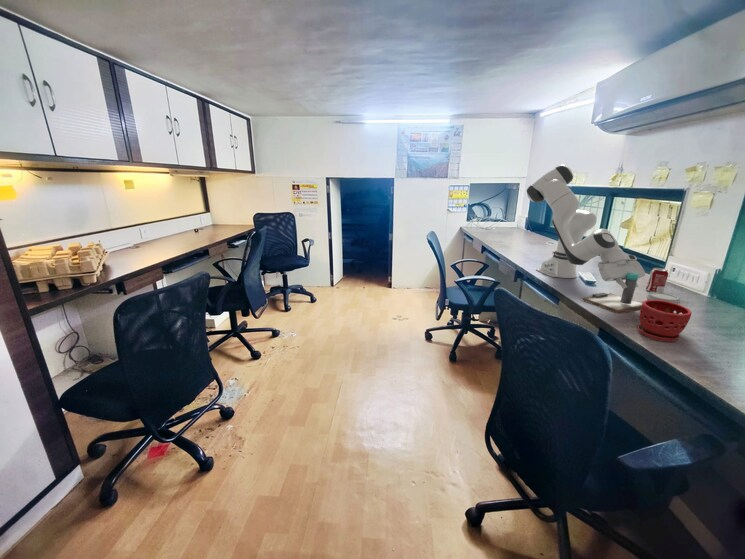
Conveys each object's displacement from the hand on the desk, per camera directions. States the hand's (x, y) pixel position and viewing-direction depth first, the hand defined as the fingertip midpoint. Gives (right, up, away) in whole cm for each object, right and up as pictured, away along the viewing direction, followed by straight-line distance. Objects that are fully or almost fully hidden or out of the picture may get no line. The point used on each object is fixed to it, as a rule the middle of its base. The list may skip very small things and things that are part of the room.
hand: (630, 287), depth 137 cm
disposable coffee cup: (-1, -14, -13) cm, 19 cm away
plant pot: (-9, -18, -23) cm, 30 cm away
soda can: (+31, -3, +23) cm, 39 cm away
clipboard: (-2, -8, +8) cm, 11 cm away
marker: (0, -7, +3) cm, 7 cm away
